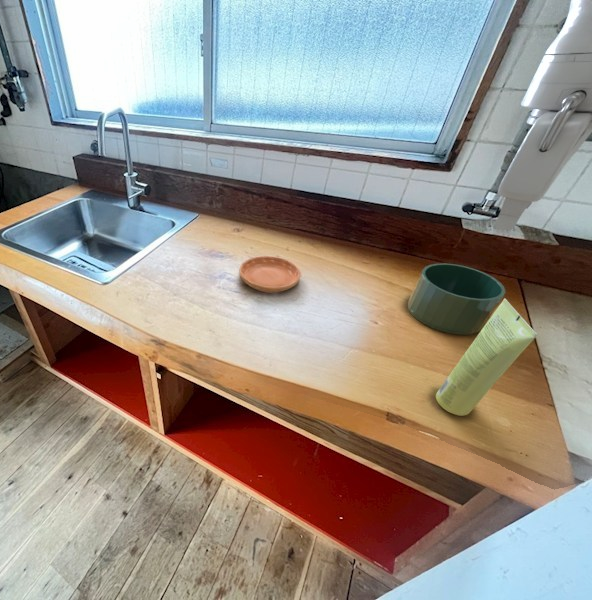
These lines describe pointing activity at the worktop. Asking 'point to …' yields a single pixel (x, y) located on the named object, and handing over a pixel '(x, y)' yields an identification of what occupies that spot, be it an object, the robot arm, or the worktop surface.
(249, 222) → the worktop surface
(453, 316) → the vessel
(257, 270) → the saucer
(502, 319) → the tube
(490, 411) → the worktop surface
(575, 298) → the worktop surface
